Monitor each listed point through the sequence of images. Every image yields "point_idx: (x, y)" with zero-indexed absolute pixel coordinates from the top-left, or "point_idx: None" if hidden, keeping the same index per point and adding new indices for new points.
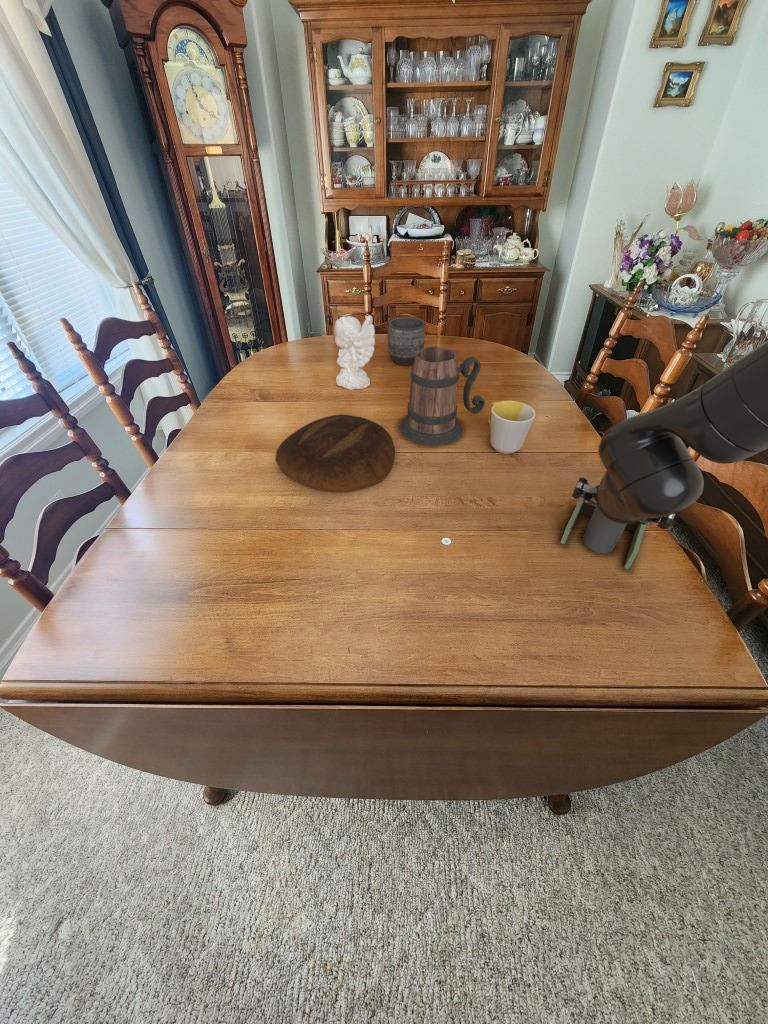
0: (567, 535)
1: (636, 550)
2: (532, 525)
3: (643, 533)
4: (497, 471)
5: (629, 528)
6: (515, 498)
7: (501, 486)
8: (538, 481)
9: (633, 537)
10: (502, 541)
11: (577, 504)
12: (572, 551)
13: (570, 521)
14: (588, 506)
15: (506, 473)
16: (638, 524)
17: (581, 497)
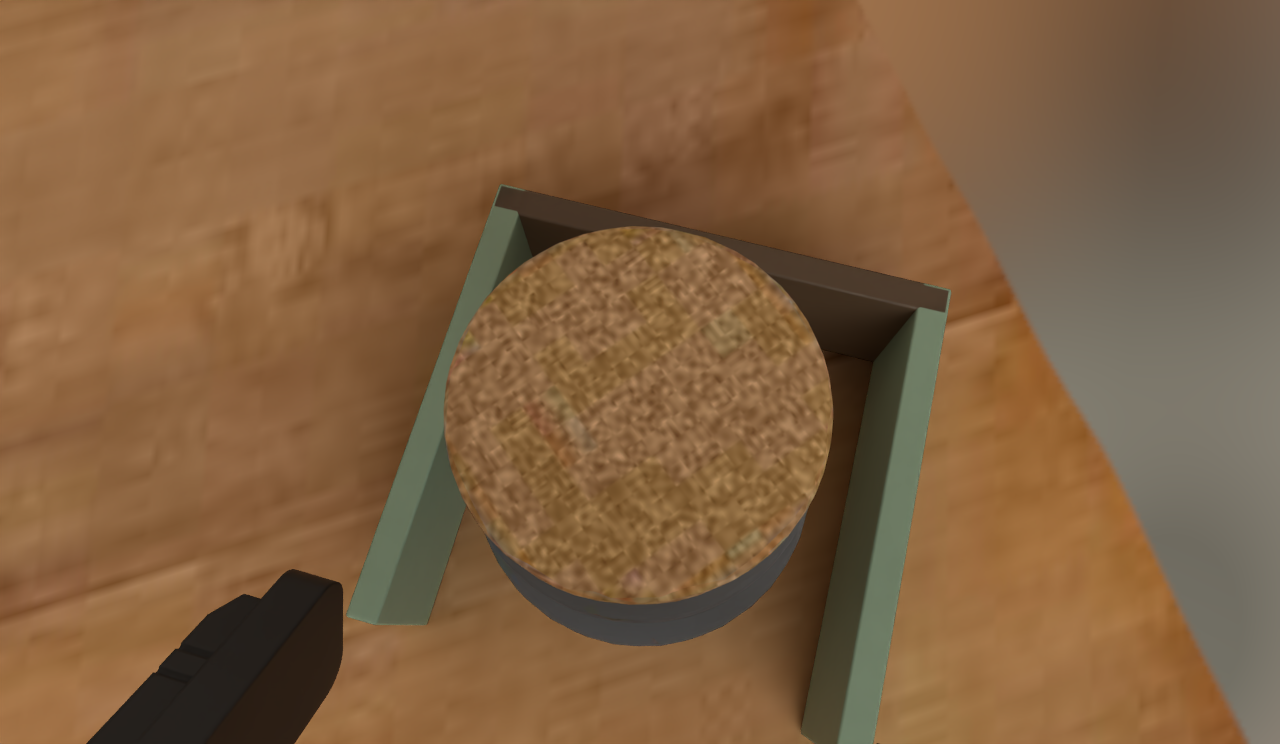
0: (400, 624)
1: (858, 739)
2: (232, 497)
3: (911, 514)
4: (49, 45)
5: (839, 350)
6: (142, 266)
7: (61, 177)
8: (304, 66)
9: (862, 425)
10: (11, 727)
11: (450, 327)
12: (478, 676)
13: (381, 545)
14: None
15: (106, 48)
16: (888, 339)
17: (484, 241)
